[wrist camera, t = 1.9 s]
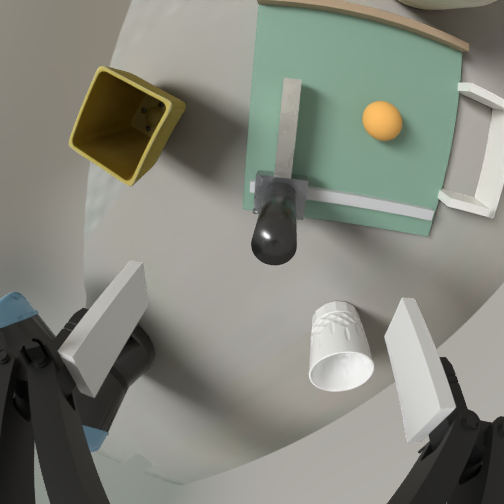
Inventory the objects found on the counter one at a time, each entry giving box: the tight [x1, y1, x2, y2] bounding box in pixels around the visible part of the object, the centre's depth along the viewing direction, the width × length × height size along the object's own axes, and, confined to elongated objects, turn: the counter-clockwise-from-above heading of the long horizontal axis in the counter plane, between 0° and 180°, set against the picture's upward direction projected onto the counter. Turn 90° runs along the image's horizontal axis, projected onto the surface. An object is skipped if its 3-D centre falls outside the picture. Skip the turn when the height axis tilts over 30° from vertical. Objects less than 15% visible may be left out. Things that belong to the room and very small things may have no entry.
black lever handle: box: [251, 78, 309, 265], centre depth 23 cm, size 5×14×12 cm, turn 176°
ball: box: [362, 101, 402, 141], centre depth 24 cm, size 4×4×4 cm
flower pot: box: [69, 66, 186, 186], centre depth 26 cm, size 9×9×9 cm
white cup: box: [309, 301, 374, 392], centre depth 36 cm, size 8×8×10 cm
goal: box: [438, 83, 504, 218], centre depth 25 cm, size 8×14×4 cm, turn 176°
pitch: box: [242, 0, 469, 236], centre depth 26 cm, size 22×24×3 cm
